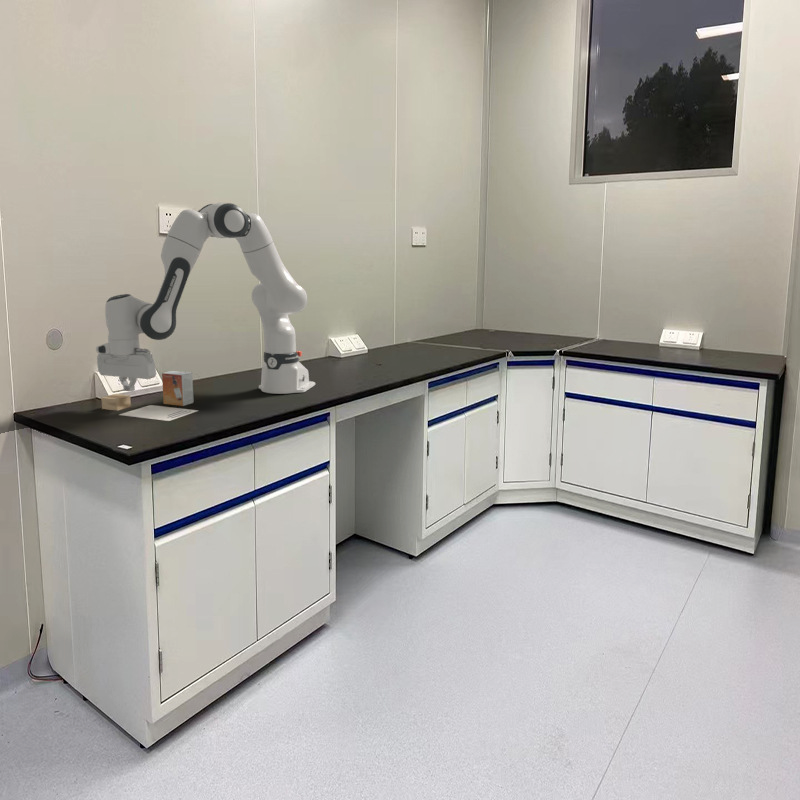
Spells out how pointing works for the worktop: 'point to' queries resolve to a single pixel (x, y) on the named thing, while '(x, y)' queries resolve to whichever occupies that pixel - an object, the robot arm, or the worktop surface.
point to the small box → (177, 388)
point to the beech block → (116, 402)
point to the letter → (159, 412)
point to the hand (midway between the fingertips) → (129, 390)
